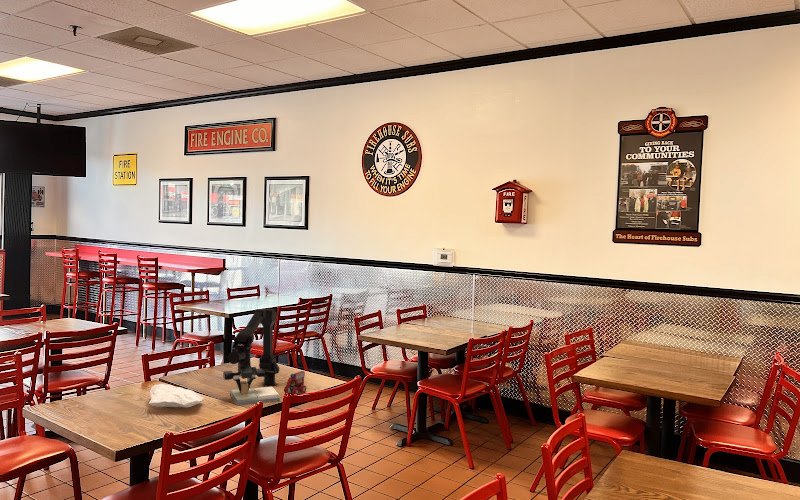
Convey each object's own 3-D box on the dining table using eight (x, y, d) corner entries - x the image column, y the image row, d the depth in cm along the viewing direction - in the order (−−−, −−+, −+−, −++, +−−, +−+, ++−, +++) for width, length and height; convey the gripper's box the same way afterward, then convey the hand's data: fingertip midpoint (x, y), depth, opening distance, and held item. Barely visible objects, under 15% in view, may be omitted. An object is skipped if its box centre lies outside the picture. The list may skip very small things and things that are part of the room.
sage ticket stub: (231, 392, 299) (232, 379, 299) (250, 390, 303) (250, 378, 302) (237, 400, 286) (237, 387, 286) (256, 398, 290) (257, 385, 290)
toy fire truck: (280, 395, 303) (281, 374, 302) (298, 389, 313) (298, 369, 313) (291, 397, 299) (292, 376, 298) (308, 391, 309) (308, 371, 309)
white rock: (167, 418, 260) (170, 396, 260) (127, 400, 282) (130, 380, 283) (215, 414, 277) (218, 394, 278) (174, 397, 300) (177, 378, 301)
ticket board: (229, 394, 301) (230, 388, 300) (270, 390, 309) (271, 385, 309) (236, 405, 284) (236, 399, 284) (279, 400, 293) (279, 394, 293)
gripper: (226, 364, 282) (226, 398, 283) (267, 361, 290) (267, 394, 291) (222, 359, 292) (222, 392, 293) (262, 356, 300) (262, 388, 301)
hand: (243, 391), depth 294 cm, fingers closed on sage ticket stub, 3 cm apart
